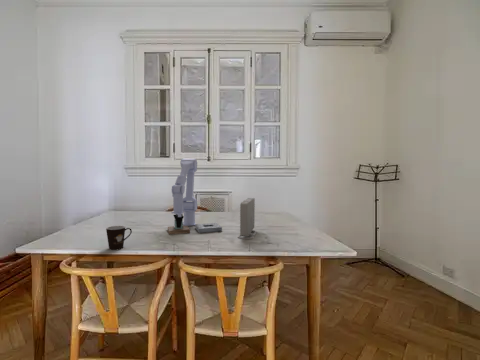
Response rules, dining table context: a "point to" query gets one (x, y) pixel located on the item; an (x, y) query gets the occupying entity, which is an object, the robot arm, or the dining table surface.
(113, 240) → the coffee mug
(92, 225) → the dining table surface
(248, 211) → the network device
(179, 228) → the plug
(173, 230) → the brown square frame
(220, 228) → the port plate
